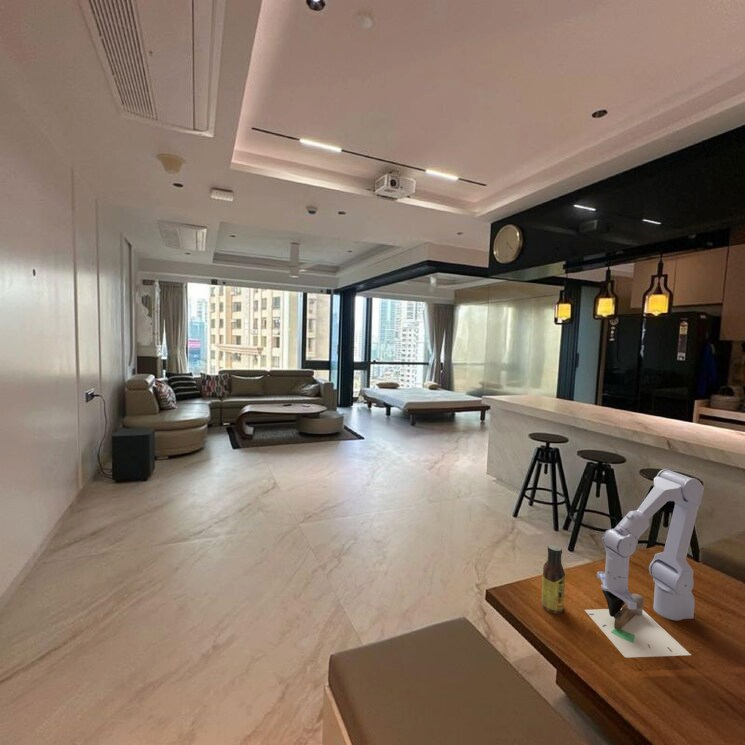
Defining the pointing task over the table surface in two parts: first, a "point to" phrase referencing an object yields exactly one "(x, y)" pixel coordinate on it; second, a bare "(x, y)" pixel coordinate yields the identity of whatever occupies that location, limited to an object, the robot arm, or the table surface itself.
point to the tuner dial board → (637, 636)
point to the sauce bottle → (553, 581)
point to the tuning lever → (628, 612)
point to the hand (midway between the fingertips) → (614, 615)
